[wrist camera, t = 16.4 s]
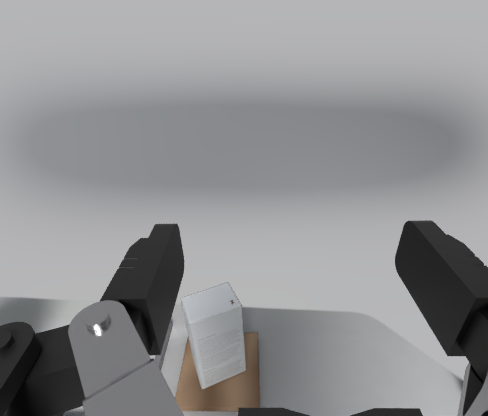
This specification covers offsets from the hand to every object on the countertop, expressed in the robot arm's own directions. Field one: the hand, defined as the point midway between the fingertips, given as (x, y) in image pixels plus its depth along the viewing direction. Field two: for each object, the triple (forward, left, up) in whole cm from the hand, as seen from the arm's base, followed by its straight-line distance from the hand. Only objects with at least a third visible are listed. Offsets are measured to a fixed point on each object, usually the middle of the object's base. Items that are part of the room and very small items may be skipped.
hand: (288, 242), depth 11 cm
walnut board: (+6, -15, -32) cm, 36 cm away
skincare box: (+6, -15, -31) cm, 35 cm away
